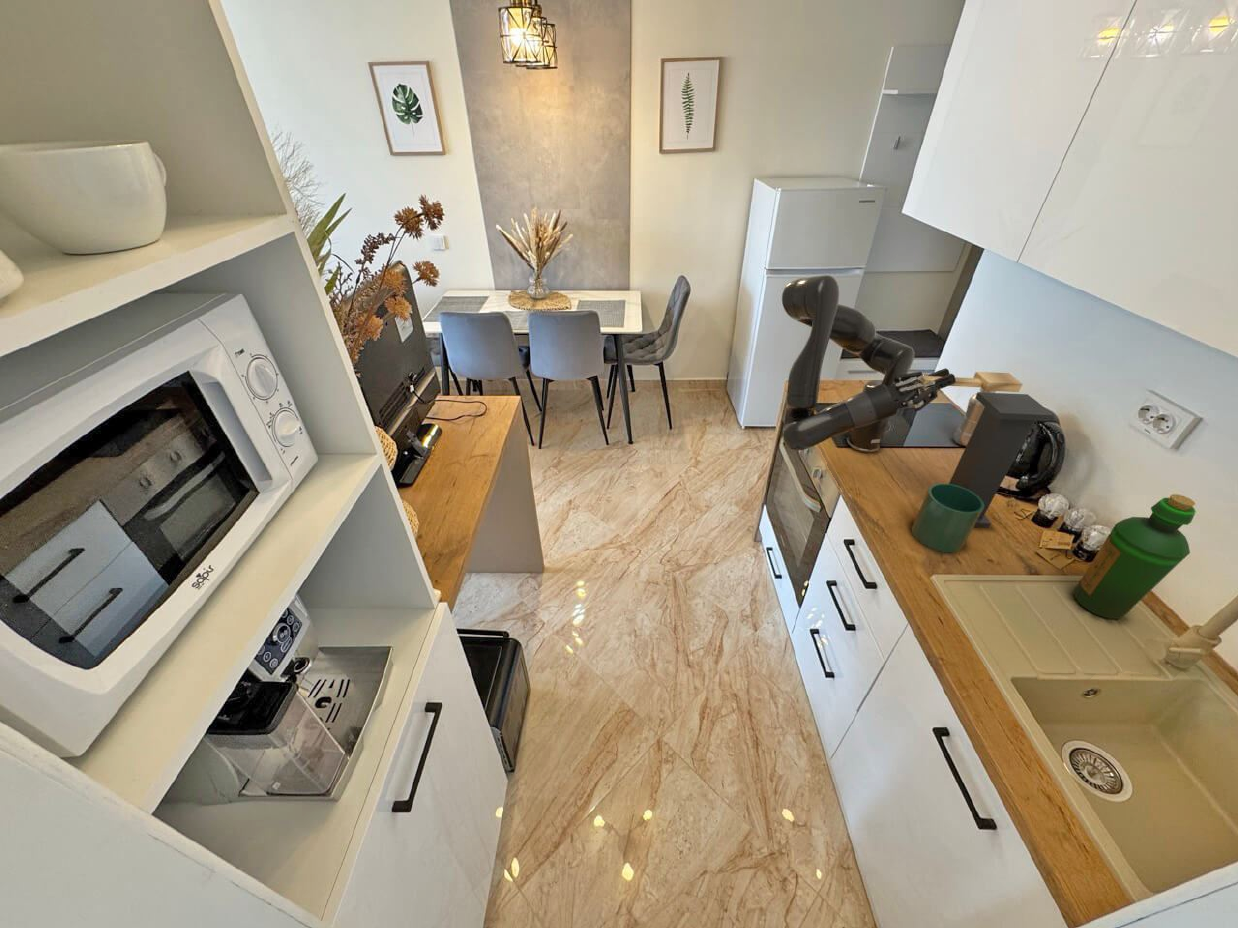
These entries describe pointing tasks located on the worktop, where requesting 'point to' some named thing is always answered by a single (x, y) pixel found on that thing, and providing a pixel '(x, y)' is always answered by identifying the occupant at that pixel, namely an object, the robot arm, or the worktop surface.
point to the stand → (996, 444)
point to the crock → (947, 517)
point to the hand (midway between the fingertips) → (951, 375)
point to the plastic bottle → (969, 420)
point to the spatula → (984, 381)
